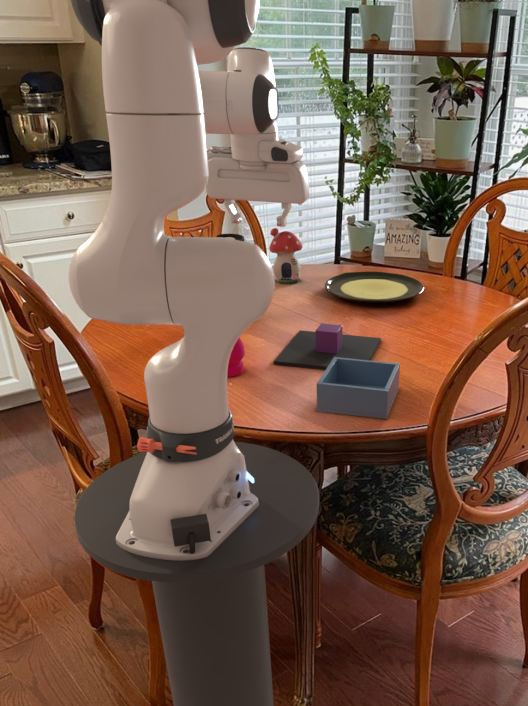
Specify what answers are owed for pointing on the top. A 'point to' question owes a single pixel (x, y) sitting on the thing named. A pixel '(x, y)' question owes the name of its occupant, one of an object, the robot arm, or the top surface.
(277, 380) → the top surface
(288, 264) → the decorative ornament
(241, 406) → the top surface
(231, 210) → the robot arm
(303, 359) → the plate
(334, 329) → the block
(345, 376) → the basket
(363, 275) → the plate
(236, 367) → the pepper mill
